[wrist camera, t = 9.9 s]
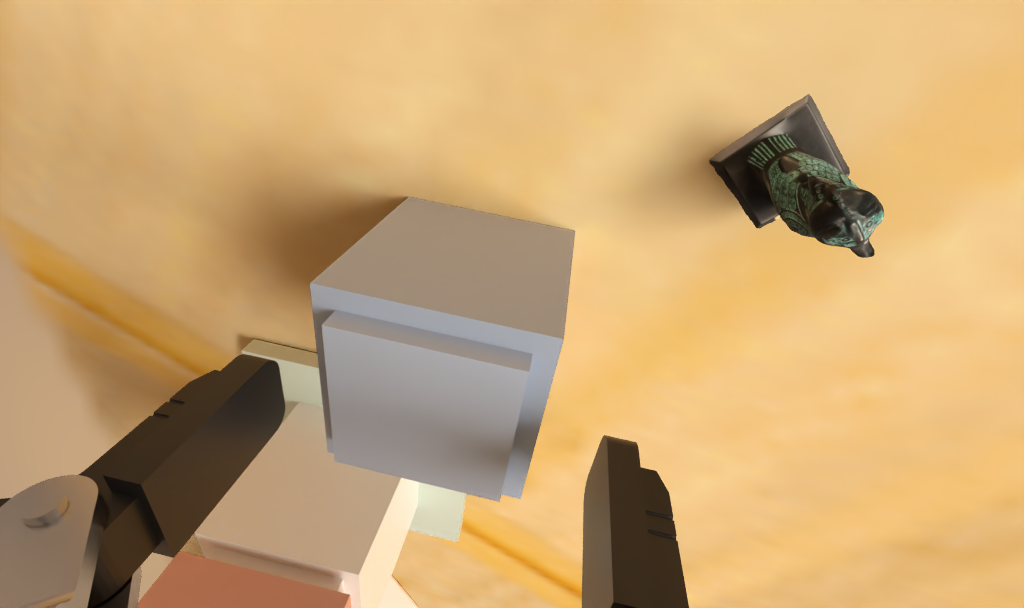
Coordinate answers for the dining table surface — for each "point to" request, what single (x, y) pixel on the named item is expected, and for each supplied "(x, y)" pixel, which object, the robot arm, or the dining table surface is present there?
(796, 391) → the dining table surface
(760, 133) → the sculpture
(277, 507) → the tower base
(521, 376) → the grey block
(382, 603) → the medicine bottle
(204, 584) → the brick terracotta
